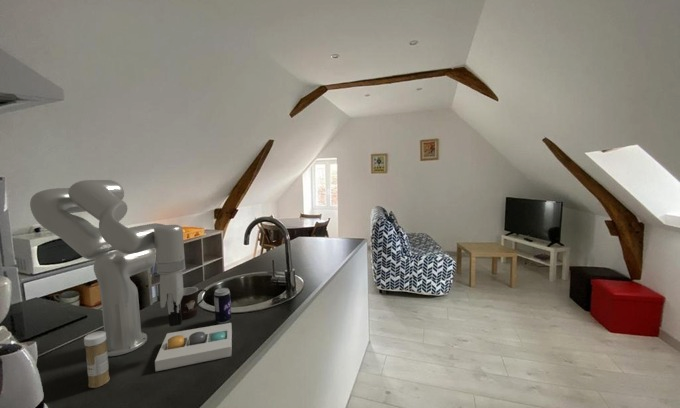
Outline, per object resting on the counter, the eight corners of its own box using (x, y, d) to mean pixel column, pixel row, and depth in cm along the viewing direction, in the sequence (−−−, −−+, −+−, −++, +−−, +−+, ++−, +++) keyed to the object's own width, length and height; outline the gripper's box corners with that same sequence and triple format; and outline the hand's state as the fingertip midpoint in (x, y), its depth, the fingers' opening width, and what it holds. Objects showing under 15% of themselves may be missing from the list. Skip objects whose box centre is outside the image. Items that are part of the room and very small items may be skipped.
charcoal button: (188, 348, 92) (188, 340, 91) (190, 340, 96) (190, 333, 95) (204, 345, 93) (204, 337, 93) (205, 337, 97) (205, 330, 97)
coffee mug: (174, 322, 112) (172, 297, 111) (176, 313, 120) (174, 289, 119) (208, 316, 117) (206, 291, 116) (208, 307, 124) (206, 284, 124)
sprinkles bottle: (85, 385, 79) (80, 336, 77) (106, 375, 83) (101, 328, 81) (92, 391, 76) (87, 341, 75) (113, 380, 80) (109, 333, 79)
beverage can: (226, 325, 109) (224, 293, 108) (212, 323, 111) (210, 292, 109) (234, 318, 115) (232, 287, 114) (221, 316, 116) (219, 287, 115)
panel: (155, 371, 84) (154, 361, 83) (167, 342, 99) (167, 333, 98) (231, 356, 90) (230, 346, 90) (231, 330, 105) (231, 322, 105)
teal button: (210, 347, 94) (209, 339, 93) (211, 340, 98) (211, 333, 98) (225, 344, 95) (224, 337, 95) (225, 337, 99) (225, 330, 99)
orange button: (166, 352, 90) (166, 344, 89) (169, 344, 94) (169, 336, 93) (183, 349, 91) (182, 341, 91) (185, 341, 95) (184, 334, 95)
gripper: (162, 261, 96) (167, 316, 97) (150, 275, 82) (155, 339, 83) (188, 258, 98) (192, 312, 100) (181, 271, 84) (185, 333, 86)
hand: (175, 324), depth 92 cm, fingers closed
